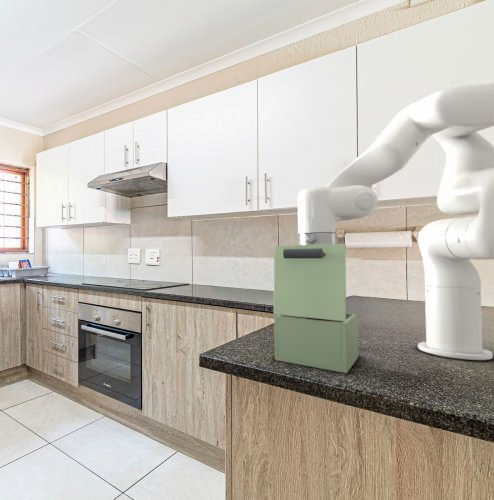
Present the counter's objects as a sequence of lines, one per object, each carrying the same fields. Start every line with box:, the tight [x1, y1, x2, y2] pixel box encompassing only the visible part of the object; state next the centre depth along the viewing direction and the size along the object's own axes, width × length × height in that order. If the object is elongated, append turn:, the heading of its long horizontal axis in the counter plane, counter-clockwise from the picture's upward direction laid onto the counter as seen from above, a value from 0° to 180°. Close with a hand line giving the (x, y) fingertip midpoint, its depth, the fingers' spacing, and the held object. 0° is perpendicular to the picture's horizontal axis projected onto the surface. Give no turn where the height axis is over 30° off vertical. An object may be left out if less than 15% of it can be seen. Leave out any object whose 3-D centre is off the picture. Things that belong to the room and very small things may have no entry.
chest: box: [273, 312, 359, 374], centre depth 78 cm, size 15×14×10 cm
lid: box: [273, 243, 347, 321], centre depth 72 cm, size 15×14×5 cm
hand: (318, 319), depth 79 cm, fingers closed on onion, 5 cm apart
